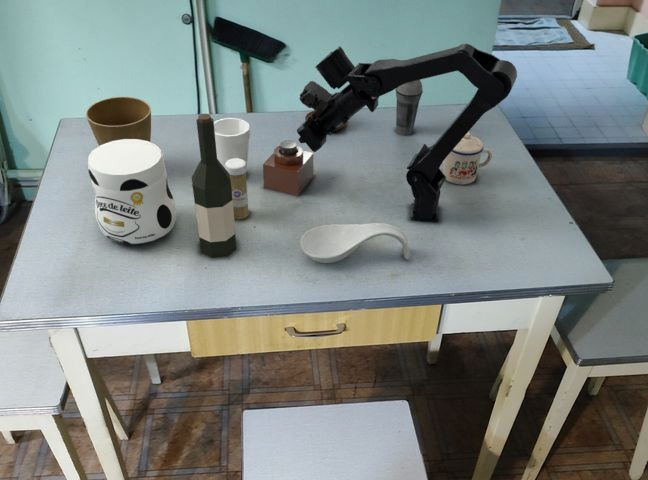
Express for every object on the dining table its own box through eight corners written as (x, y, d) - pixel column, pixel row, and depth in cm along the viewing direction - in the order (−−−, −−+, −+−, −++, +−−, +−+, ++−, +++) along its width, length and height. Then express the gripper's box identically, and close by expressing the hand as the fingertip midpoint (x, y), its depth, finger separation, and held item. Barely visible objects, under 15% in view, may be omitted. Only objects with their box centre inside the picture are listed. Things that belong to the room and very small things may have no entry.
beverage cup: (417, 125, 190) (426, 54, 176) (417, 138, 185) (427, 65, 170) (391, 124, 190) (399, 52, 176) (391, 136, 185) (398, 63, 171)
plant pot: (89, 169, 169) (74, 108, 158) (141, 150, 176) (130, 91, 165) (119, 193, 161) (105, 131, 150) (172, 173, 168) (162, 112, 157)
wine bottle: (231, 260, 143) (218, 129, 122) (193, 255, 144) (175, 124, 123) (242, 238, 149) (232, 109, 128) (206, 233, 150) (190, 104, 129)
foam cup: (209, 182, 166) (204, 133, 157) (222, 164, 172) (217, 115, 163) (245, 187, 164) (242, 138, 155) (257, 169, 171) (254, 120, 162)
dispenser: (313, 176, 169) (313, 145, 163) (297, 196, 162) (297, 164, 156) (280, 169, 171) (280, 138, 165) (263, 188, 164) (262, 156, 158)
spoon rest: (301, 272, 141) (300, 244, 136) (299, 239, 150) (299, 212, 144) (412, 270, 142) (416, 243, 137) (404, 238, 151) (408, 211, 146)
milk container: (101, 257, 143) (82, 182, 131) (98, 213, 155) (80, 141, 142) (183, 245, 147) (172, 172, 134) (174, 203, 159) (163, 132, 146)
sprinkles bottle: (231, 221, 154) (227, 169, 144) (227, 210, 157) (223, 158, 147) (251, 218, 155) (248, 166, 145) (246, 208, 158) (243, 156, 148)
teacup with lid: (445, 186, 167) (453, 143, 159) (437, 167, 173) (444, 125, 165) (492, 184, 168) (502, 141, 160) (482, 166, 174) (491, 123, 166)
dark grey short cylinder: (299, 150, 162) (299, 142, 160) (292, 158, 159) (292, 149, 158) (284, 147, 163) (284, 138, 161) (277, 154, 160) (277, 146, 159)
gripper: (337, 58, 151) (293, 97, 161) (305, 90, 138) (259, 130, 149) (368, 98, 154) (323, 134, 165) (339, 133, 142) (292, 169, 152)
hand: (300, 140), depth 158 cm, fingers closed
